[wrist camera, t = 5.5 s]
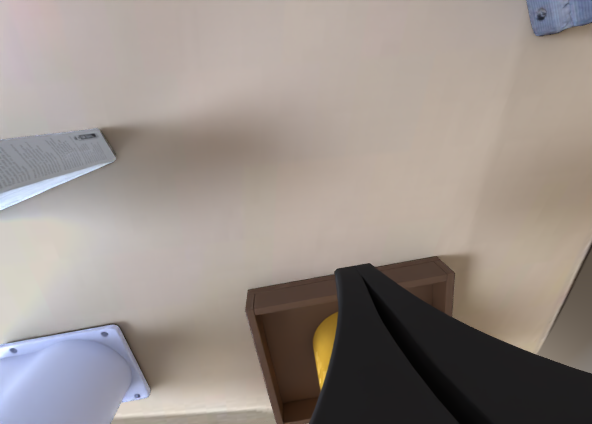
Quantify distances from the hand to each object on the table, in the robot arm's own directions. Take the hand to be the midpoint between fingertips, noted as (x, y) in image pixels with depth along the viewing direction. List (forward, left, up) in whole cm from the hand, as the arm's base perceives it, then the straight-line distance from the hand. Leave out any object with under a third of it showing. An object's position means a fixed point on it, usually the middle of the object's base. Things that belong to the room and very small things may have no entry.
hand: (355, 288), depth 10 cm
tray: (+1, -13, -10) cm, 16 cm away
